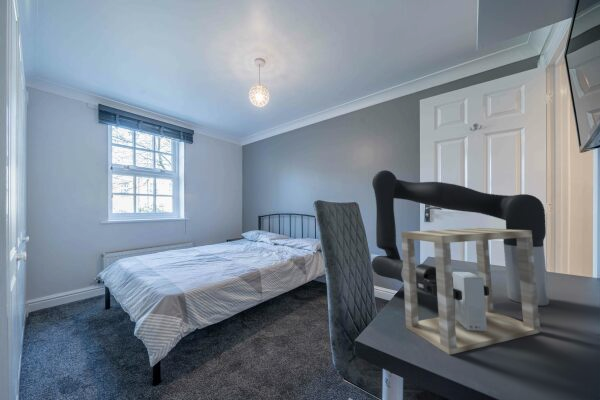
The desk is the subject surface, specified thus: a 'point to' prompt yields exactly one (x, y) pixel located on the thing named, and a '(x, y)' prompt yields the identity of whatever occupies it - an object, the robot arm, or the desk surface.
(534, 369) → the desk surface
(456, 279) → the skincare box
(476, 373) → the desk surface
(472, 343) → the oak counter shelf
